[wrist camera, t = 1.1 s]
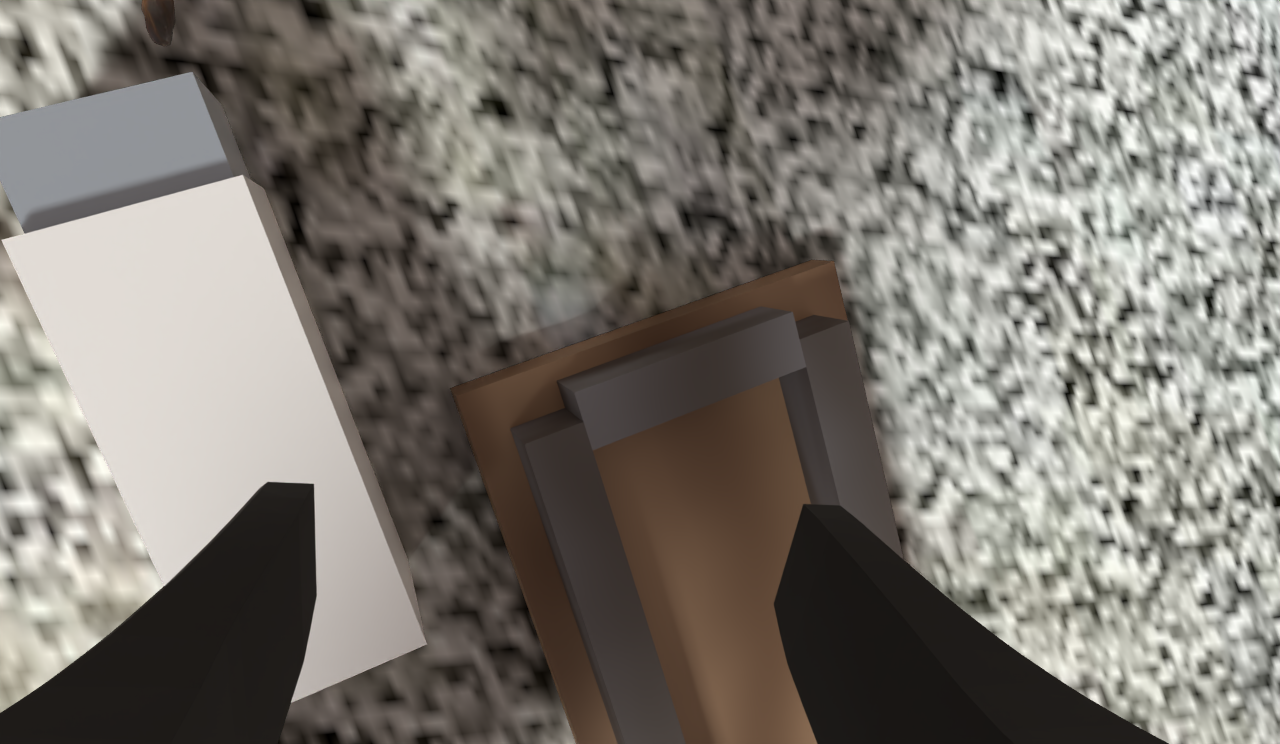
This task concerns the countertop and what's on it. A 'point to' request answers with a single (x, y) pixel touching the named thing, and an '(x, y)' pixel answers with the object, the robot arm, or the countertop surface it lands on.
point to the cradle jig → (678, 503)
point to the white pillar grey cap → (199, 348)
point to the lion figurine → (159, 20)
